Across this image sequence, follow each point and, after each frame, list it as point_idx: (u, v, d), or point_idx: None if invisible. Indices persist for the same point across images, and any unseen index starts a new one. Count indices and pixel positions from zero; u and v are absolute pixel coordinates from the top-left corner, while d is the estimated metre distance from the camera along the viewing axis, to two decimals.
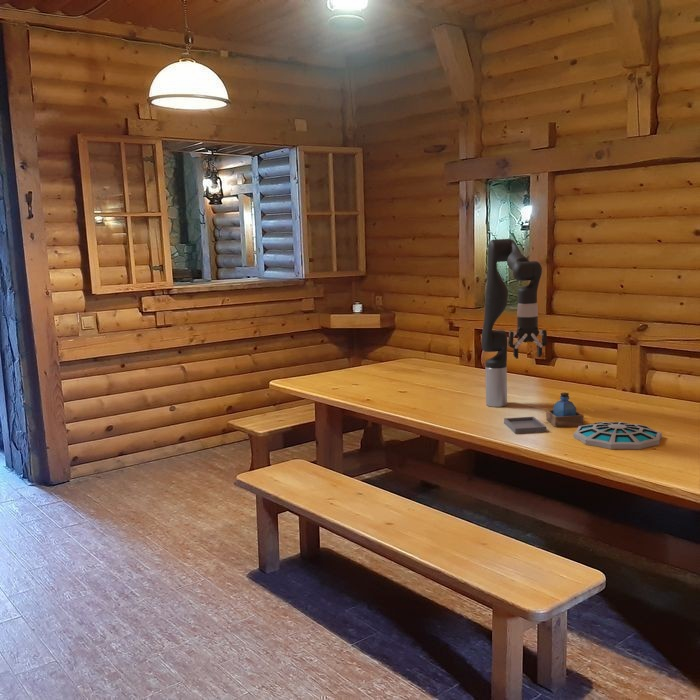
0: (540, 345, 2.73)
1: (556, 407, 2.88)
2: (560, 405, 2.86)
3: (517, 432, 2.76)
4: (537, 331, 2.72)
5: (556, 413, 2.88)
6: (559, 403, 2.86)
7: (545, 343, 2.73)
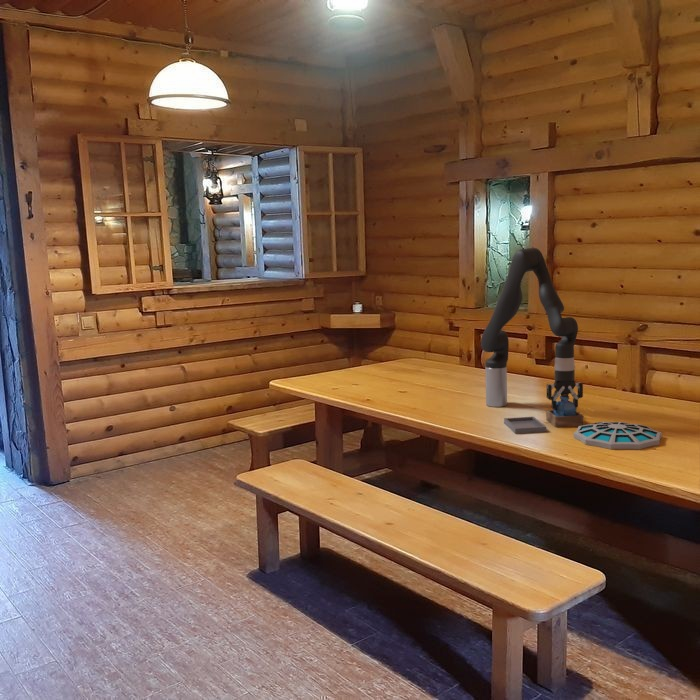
0: (576, 397, 2.86)
1: None
2: (560, 405, 2.86)
3: (517, 432, 2.76)
4: (574, 384, 2.85)
5: (556, 413, 2.88)
6: (559, 403, 2.86)
7: (581, 395, 2.86)
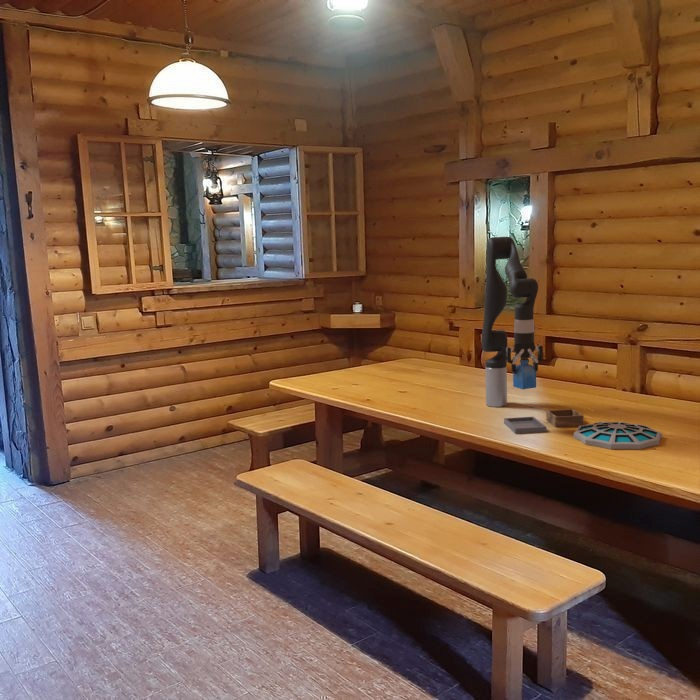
0: (536, 361, 2.80)
1: (516, 370, 2.81)
2: (520, 369, 2.79)
3: (517, 432, 2.76)
4: (534, 346, 2.79)
5: (516, 377, 2.81)
6: (519, 367, 2.80)
7: (541, 359, 2.80)
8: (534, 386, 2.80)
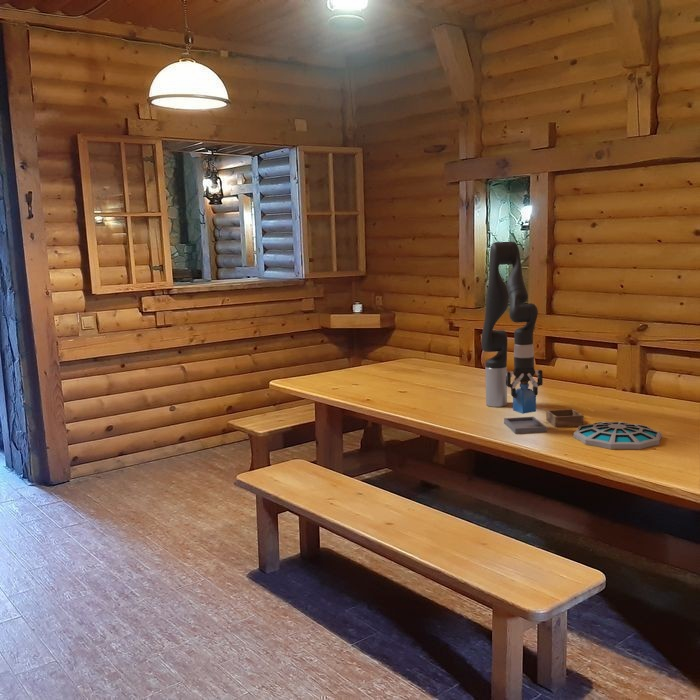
0: (535, 385, 2.81)
1: None
2: (519, 393, 2.81)
3: (517, 432, 2.76)
4: (533, 371, 2.80)
5: (516, 401, 2.83)
6: (519, 391, 2.82)
7: (540, 383, 2.81)
8: (534, 410, 2.82)
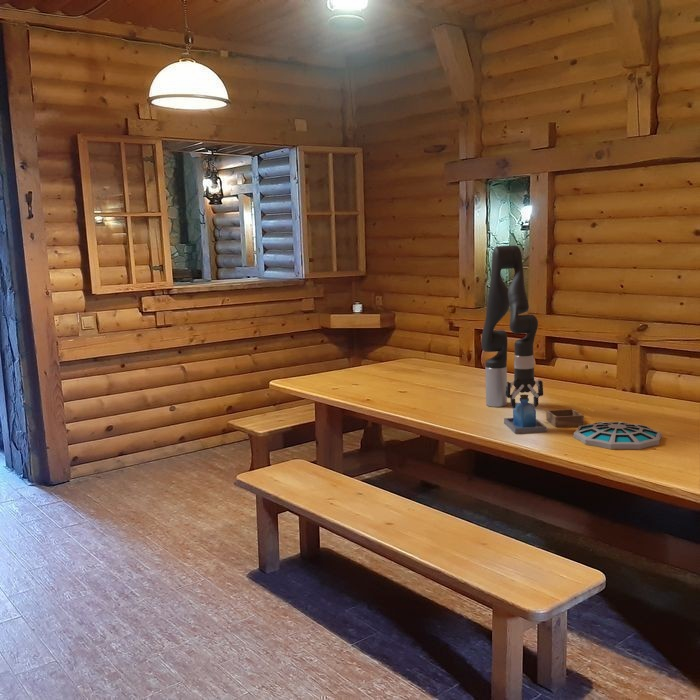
0: (536, 395, 2.82)
1: (515, 409, 2.84)
2: (519, 408, 2.82)
3: (517, 432, 2.76)
4: (533, 382, 2.81)
5: (516, 415, 2.84)
6: (519, 405, 2.83)
7: (541, 393, 2.82)
8: (534, 425, 2.83)
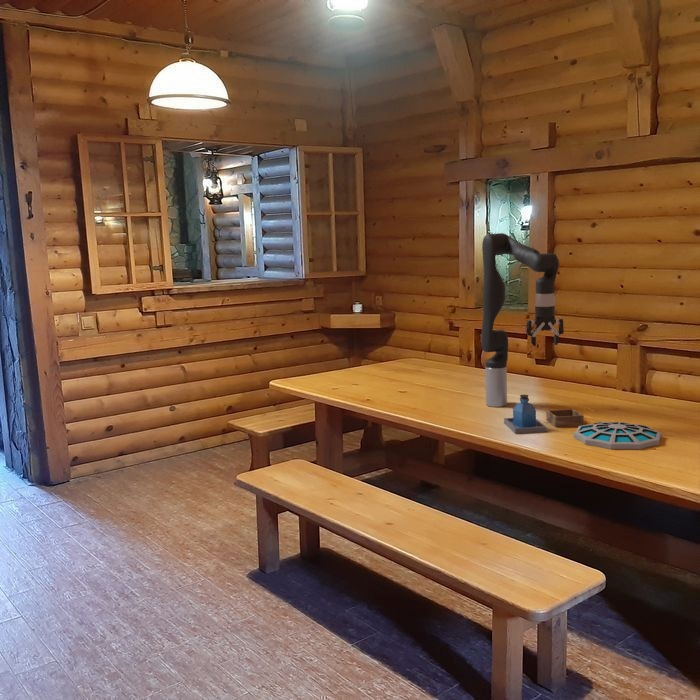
0: (557, 333, 2.86)
1: (515, 409, 2.84)
2: (519, 408, 2.82)
3: (517, 432, 2.76)
4: (554, 320, 2.86)
5: (516, 415, 2.84)
6: (519, 405, 2.83)
7: (562, 331, 2.86)
8: (534, 425, 2.83)
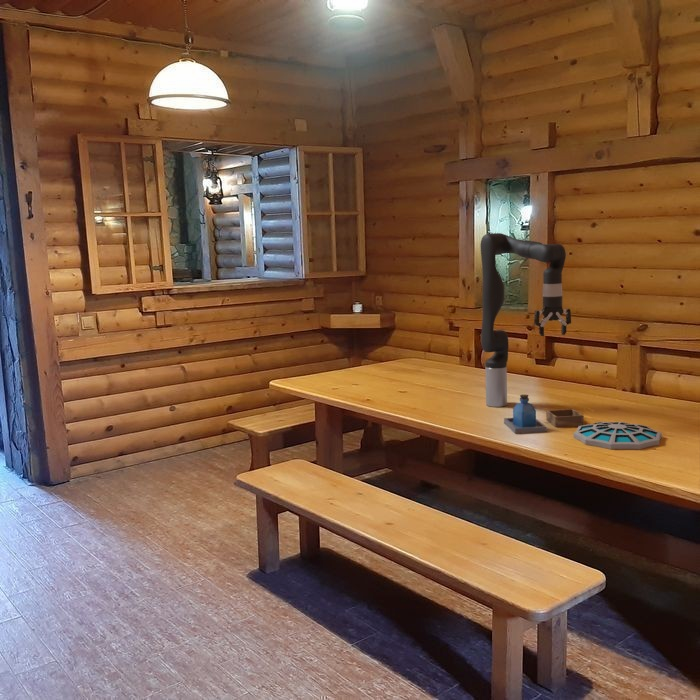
0: (564, 323, 2.89)
1: (515, 409, 2.84)
2: (519, 408, 2.82)
3: (517, 432, 2.76)
4: (562, 310, 2.88)
5: (516, 415, 2.84)
6: (519, 405, 2.83)
7: (569, 321, 2.89)
8: (534, 425, 2.83)
